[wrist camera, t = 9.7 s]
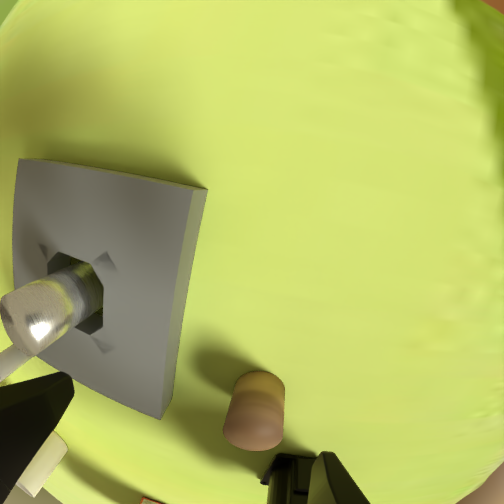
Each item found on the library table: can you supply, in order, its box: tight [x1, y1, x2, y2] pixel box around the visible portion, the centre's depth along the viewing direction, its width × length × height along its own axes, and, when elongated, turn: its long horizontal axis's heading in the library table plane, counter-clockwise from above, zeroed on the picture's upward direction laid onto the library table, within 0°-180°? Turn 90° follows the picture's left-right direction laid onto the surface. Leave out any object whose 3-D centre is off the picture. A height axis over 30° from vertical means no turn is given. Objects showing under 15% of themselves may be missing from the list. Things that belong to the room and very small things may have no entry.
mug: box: [16, 431, 68, 497], centre depth 23 cm, size 10×7×12 cm, turn 3°
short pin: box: [223, 371, 285, 451], centre depth 19 cm, size 4×4×5 cm
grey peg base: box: [0, 159, 208, 420], centre depth 16 cm, size 18×16×9 cm
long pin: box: [0, 261, 104, 357], centre depth 16 cm, size 4×4×9 cm
